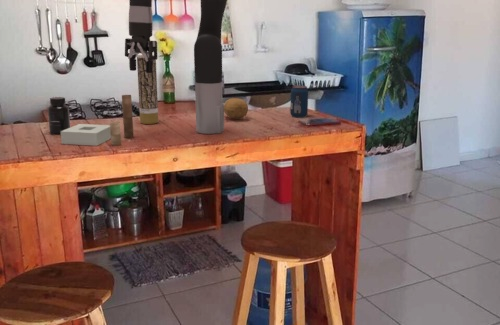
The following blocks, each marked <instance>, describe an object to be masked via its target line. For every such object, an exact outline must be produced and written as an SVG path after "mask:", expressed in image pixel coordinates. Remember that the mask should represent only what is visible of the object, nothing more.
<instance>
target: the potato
mask: <svg viewBox="0 0 500 325" xmlns="http://www.w3.org/2000/svg"><path fill="white" fill-rule="evenodd" d="M223 104H224V114H225V115H226V116H227V117H228V118H231V119H234V120H238V119H239V120H241V119H243V118H244V117H246V116H247V115H248V111H249V105H248V103H247V102H246V101H245V100H244V99H242V98H236V97H234V98H233V97H231V98H229V99H227V100H226V101H225V102H224V103H223Z"/></svg>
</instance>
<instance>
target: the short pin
mask: <svg viewBox="0 0 500 325" xmlns="http://www.w3.org/2000/svg"><path fill="white" fill-rule="evenodd" d="M109 125H110V133H111V139H110V142H111V143H110V145H111V146H120V145H121V146H122V138H121V137H122V136H121V135H122V134H121V124H120V121H109Z"/></svg>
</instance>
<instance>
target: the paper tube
mask: <svg viewBox="0 0 500 325" xmlns="http://www.w3.org/2000/svg"><path fill="white" fill-rule="evenodd" d="M153 56H154V54H153ZM148 57H149V56H148ZM136 71H137V83H138V84H137V86H138V89H137V90H138V101H139V103H138V104H139V106H138V108H139V121H140V123H141V124H144V125H153V124H157V123H158V122H159V102H158V100H159V99H158V81H157V80H158V79H157V77H158V76H157V60H154V61H153V71H152V73H146V60H145V57H144V56H143V55H142V54H138V55H137V57H136Z"/></svg>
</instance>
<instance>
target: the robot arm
mask: <svg viewBox="0 0 500 325" xmlns="http://www.w3.org/2000/svg"><path fill="white" fill-rule="evenodd" d="M227 2H228V0H200V20H199V27H198V30H197V36H196V40H195V42H194V44H193V62H194V63H193V64H194V81H195V82H194V89H195V90H194V91H195V93H194V94H195V130H196V133H198V134H203V135H204V134H206V135H211V134H221V133H223V132H224V130H225V112H224V104H225V103H224V102H223V46H222V27H223V25H222V24H223V17H224V14H225V12H226V11H225V10H226V6H227ZM152 3H153V0H129V3H128V4H129V5H128V6H129V7H128V35H129V36H130V37H131V38H125V40H124V56H125V57H127V58H128V60H129V61H128V62H129V63H128V66H129V70H130V71H132V72H133V71H134V72H135V71H137V55H140V54H141V55H143V56H144V57H145V60H146V73H152V71H153V61H154V60H156V61H157V60H158V42H157V40H151V37H153V8H152V7H153V6H152V5H153V4H152ZM153 55H154V56H153ZM148 56H149V57H148Z"/></svg>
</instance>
